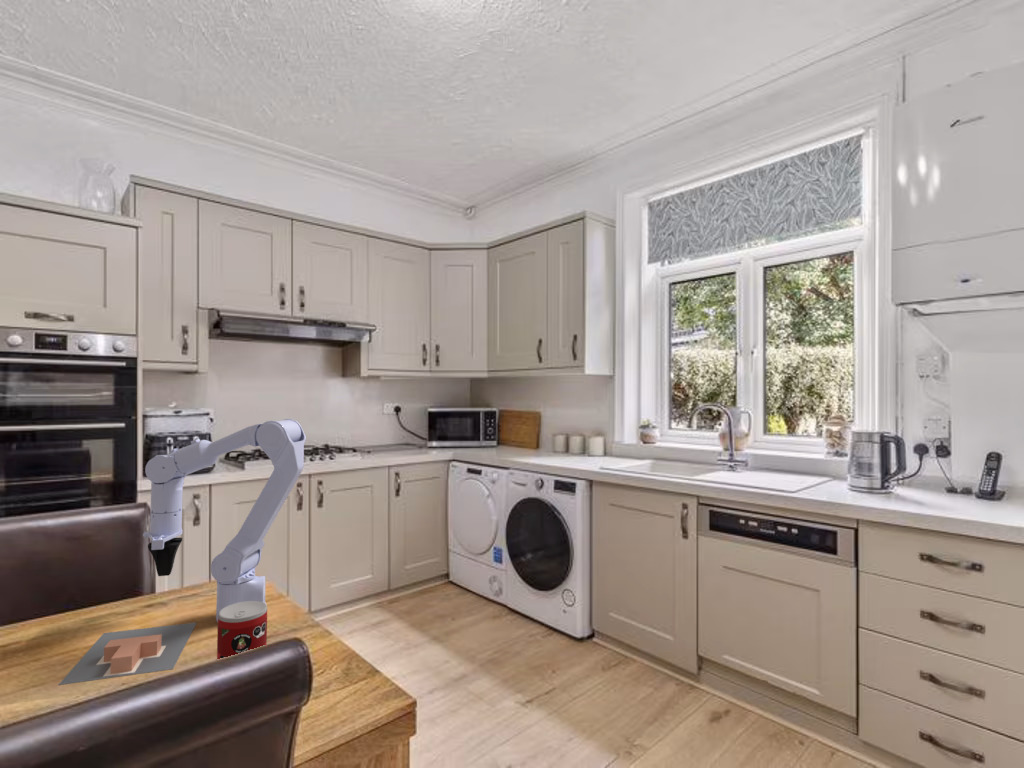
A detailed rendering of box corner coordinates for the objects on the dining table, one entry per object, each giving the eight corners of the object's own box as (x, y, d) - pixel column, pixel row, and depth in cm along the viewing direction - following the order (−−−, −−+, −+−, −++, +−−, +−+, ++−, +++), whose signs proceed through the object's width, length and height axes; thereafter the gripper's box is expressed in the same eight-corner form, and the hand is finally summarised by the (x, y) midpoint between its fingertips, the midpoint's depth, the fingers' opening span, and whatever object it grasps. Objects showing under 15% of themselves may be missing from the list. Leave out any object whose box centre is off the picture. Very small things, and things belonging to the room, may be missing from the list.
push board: (196, 627, 111) (196, 622, 111) (172, 674, 92) (172, 669, 92) (103, 638, 106) (103, 633, 106) (57, 691, 87) (58, 684, 87)
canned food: (214, 689, 88) (215, 621, 88) (218, 666, 95) (220, 604, 96) (265, 680, 91) (267, 614, 91) (266, 658, 99) (267, 598, 99)
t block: (161, 647, 100) (161, 634, 100) (148, 668, 92) (149, 653, 93) (109, 654, 97) (110, 640, 97) (92, 676, 90) (93, 660, 90)
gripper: (153, 505, 120) (151, 566, 120) (134, 519, 107) (132, 588, 107) (189, 503, 123) (187, 563, 123) (175, 517, 109) (173, 584, 109)
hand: (164, 574), depth 115 cm, fingers closed
